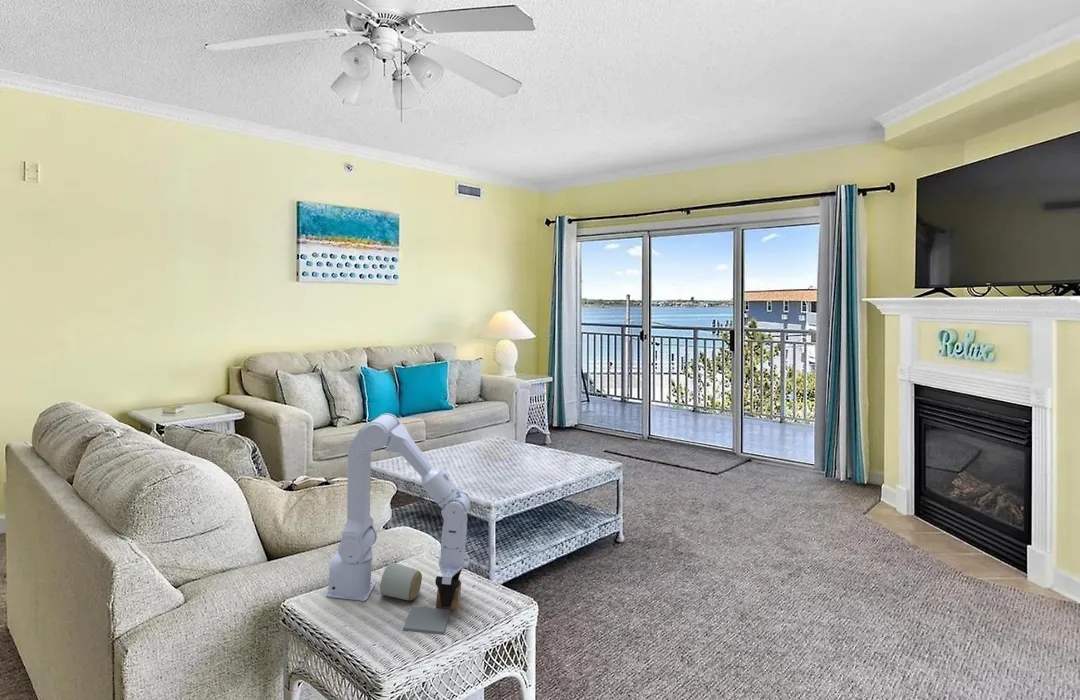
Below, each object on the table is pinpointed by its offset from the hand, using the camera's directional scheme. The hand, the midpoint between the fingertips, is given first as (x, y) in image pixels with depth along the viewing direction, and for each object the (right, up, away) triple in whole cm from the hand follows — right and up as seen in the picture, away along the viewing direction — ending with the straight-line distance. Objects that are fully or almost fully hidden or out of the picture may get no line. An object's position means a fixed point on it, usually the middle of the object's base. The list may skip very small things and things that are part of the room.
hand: (448, 597), depth 150 cm
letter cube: (0, -2, 0) cm, 2 cm away
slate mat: (-4, -2, -7) cm, 9 cm away
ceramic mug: (-12, -1, +3) cm, 12 cm away
